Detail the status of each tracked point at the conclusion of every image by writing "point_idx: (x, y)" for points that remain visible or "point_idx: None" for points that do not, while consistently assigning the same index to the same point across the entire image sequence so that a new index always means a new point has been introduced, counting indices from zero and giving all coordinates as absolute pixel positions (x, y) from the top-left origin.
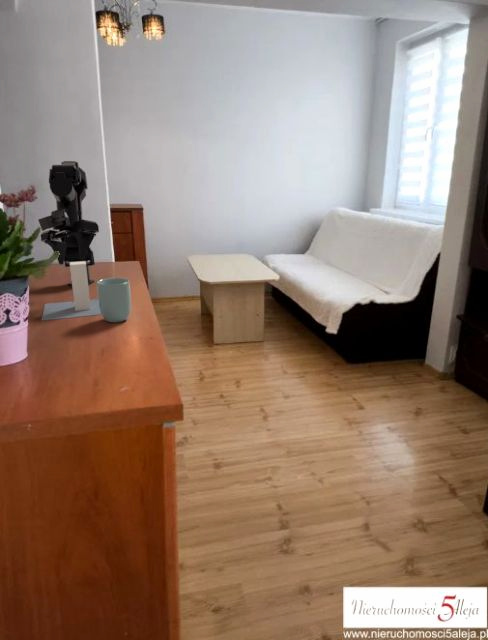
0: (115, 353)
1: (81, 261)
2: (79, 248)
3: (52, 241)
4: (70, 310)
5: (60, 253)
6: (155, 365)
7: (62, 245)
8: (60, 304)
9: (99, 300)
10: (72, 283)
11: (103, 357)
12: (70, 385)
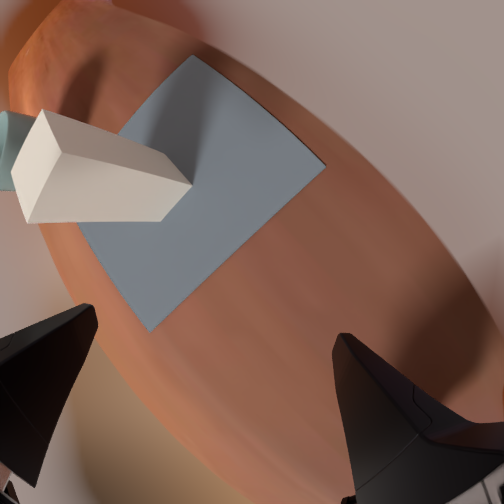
0: (37, 76)
1: (33, 206)
2: (35, 332)
3: (466, 473)
4: (177, 146)
5: (366, 414)
6: (14, 90)
7: (377, 500)
8: (262, 183)
9: (36, 117)
10: (102, 131)
11: (44, 62)
12: (55, 22)
